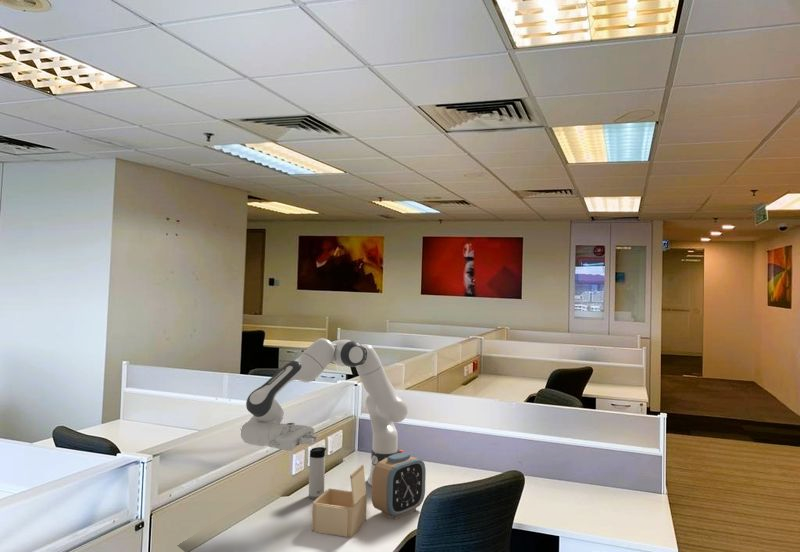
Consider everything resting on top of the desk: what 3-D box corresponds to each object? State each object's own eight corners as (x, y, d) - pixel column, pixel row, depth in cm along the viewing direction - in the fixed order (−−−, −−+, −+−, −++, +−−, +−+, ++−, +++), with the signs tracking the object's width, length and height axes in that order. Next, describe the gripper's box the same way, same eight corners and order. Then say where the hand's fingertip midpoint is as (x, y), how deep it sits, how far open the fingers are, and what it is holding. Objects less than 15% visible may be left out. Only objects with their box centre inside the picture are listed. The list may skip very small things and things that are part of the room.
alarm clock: (389, 523, 209) (390, 464, 209) (371, 515, 215) (372, 458, 215) (425, 508, 224) (426, 453, 224) (407, 501, 230) (408, 447, 230)
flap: (353, 504, 198) (350, 475, 198) (364, 492, 210) (361, 464, 210) (354, 504, 198) (351, 475, 198) (366, 492, 209) (363, 464, 210)
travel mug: (321, 500, 229) (323, 450, 229) (306, 498, 230) (307, 449, 230) (326, 494, 235) (328, 446, 235) (311, 492, 236) (313, 444, 237)
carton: (327, 514, 216) (328, 487, 216) (366, 519, 211) (367, 492, 211) (309, 531, 200) (310, 503, 200) (351, 538, 196) (351, 509, 196)
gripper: (267, 434, 203) (302, 438, 199) (293, 421, 222) (326, 424, 218) (266, 452, 203) (302, 456, 199) (292, 437, 222) (325, 441, 218)
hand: (314, 440), depth 209 cm, fingers open, 2 cm apart
